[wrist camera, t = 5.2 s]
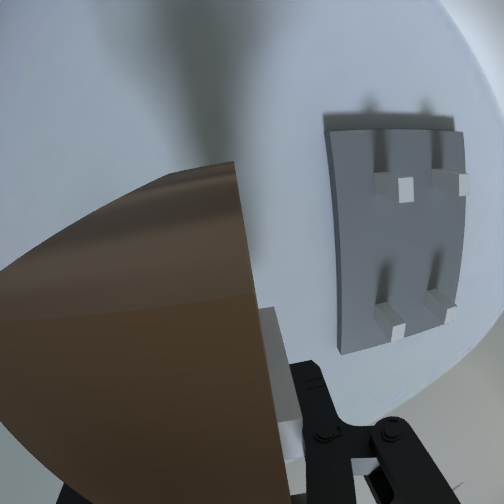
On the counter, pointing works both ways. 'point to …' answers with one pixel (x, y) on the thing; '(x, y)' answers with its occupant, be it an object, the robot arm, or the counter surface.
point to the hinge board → (396, 231)
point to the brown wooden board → (145, 351)
